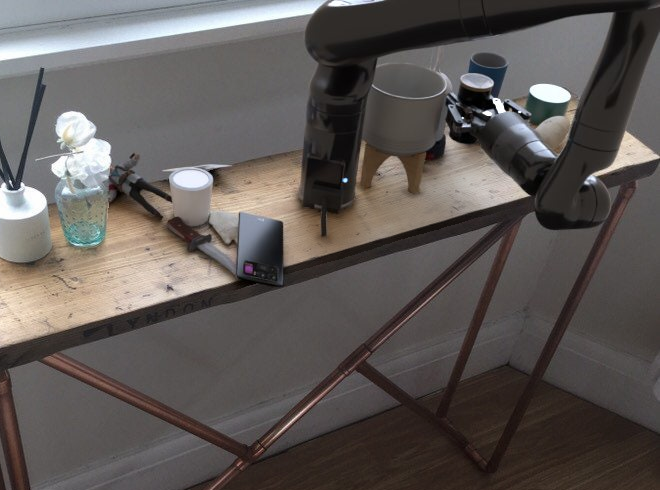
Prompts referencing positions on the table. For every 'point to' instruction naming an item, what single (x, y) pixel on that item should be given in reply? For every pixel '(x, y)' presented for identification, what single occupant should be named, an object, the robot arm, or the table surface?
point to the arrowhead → (225, 225)
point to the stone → (554, 130)
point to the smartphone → (260, 250)
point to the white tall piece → (441, 137)
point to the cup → (489, 68)
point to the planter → (401, 119)
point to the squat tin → (546, 102)
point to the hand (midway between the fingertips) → (464, 96)
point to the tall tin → (473, 99)
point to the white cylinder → (191, 195)
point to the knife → (199, 242)
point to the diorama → (200, 167)
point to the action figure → (133, 185)
